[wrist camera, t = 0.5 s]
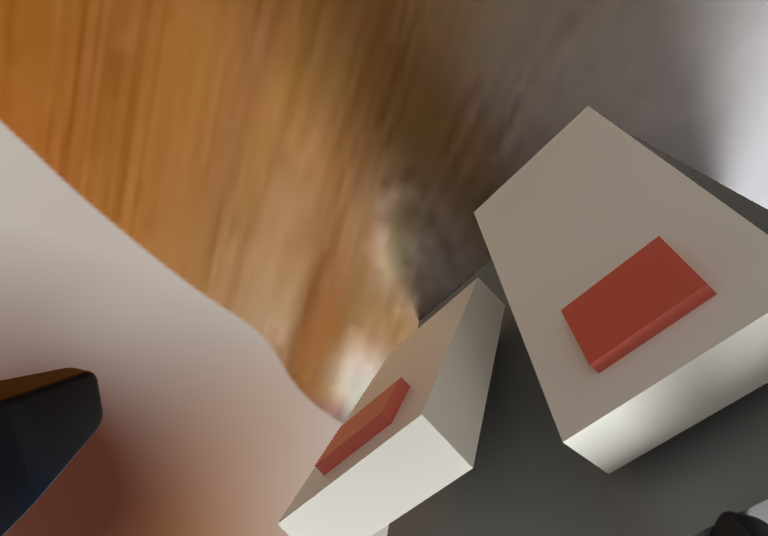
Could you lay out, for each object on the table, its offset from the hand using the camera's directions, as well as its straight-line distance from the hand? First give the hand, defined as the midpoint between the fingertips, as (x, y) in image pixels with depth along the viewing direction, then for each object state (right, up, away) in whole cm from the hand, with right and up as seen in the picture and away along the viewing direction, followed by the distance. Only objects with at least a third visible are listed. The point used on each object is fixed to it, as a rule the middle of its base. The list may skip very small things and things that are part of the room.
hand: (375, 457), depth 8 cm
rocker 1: (+2, +1, +9) cm, 9 cm away
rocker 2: (+4, +5, +6) cm, 9 cm away
